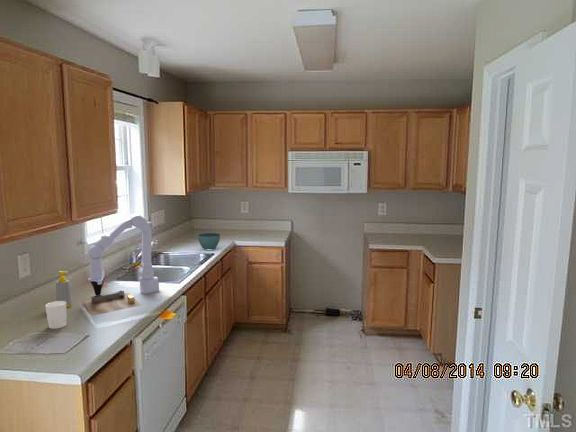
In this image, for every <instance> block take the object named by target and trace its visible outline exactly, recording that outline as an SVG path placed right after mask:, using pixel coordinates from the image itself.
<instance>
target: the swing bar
mask: <svg viewBox="0 0 576 432" xmlns="http://www.w3.org/2000/svg"><path fill="white" fill-rule="evenodd" d="M124 293H125V291H124V290H119V291H116V292H115V291H114V292H109V293H104V294H100V295H97V296H96V295H92V296H91V297H90V300H91V302H92V303H94V302H99V301H104V300H109V299H115V298H122V297H124V296H125V295H124Z"/></svg>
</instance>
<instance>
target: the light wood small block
mask: <svg viewBox="0 0 576 432" xmlns="http://www.w3.org/2000/svg"><path fill="white" fill-rule="evenodd" d="M127 299H128V302H129V303H135V300H136V298H135V296H134V295H132V294H130V296H127Z"/></svg>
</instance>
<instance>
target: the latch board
mask: <svg viewBox="0 0 576 432" xmlns="http://www.w3.org/2000/svg"><path fill="white" fill-rule="evenodd" d="M124 295H125V296H124V297H122V298H115V299H109V300H104V301H99V302H94V303H92V302H91V299H88V300H82V302H83V303H84V306H86V308H87V309H88V312H89V313H90V314H91V315H92V316H96V315H102V314H105V313H110V312H116V311H120V310H126V309H130V308H131V309H132V308H134V307H135V308H136V307H140V306H142V304H141V303H140V302H139V301H137V299H135V303H129V302H128V299H127V296H130V295H131V294H130V293H129V292H126V293H125V292H124Z"/></svg>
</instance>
